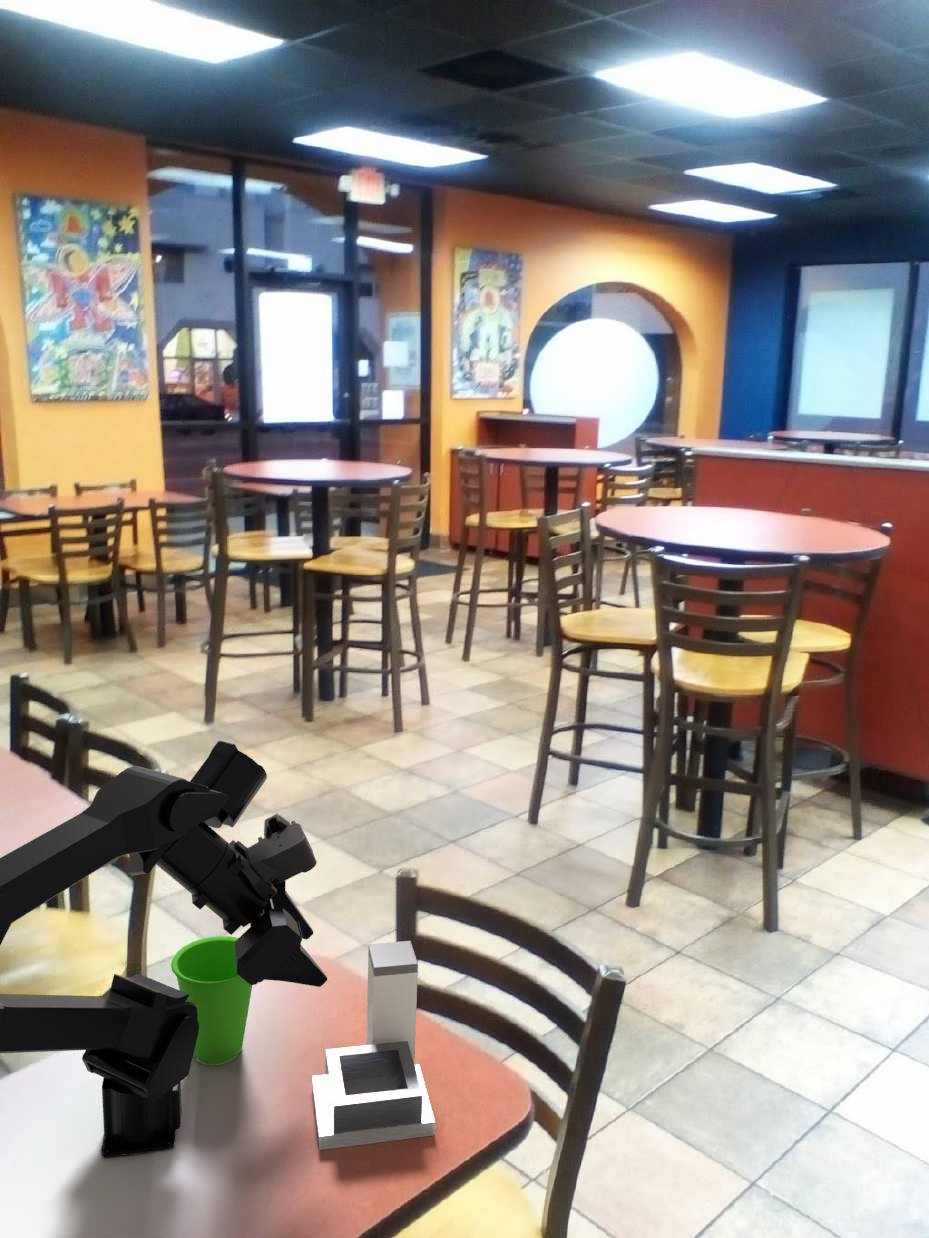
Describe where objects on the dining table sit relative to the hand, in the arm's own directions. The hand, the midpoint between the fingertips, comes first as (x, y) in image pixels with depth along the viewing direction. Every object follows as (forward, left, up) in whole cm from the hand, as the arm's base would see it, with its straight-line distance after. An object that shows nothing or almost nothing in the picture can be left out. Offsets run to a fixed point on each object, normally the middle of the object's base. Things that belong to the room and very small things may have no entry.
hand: (316, 958), depth 103 cm
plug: (+8, +1, -13) cm, 16 cm away
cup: (-10, +6, -14) cm, 18 cm away
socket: (+5, -7, -13) cm, 16 cm away
